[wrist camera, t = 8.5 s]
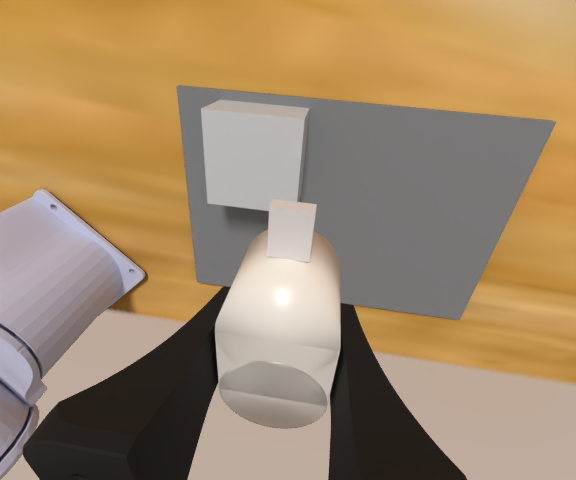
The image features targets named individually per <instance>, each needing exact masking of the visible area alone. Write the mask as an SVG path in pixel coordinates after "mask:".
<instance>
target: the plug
mask: <svg viewBox="0 0 576 480" xmlns="http://www.w3.org/2000/svg"><path fill="white" fill-rule="evenodd" d="M316 207H317V204H310V203H302V202H294V201H285V200H277V199H272V202H271V204H270V206H269V222H268V230H266V231H264V232H262V233H261V234H259V235H258V236H257V237H256V238H255V239H254V240H253V241H252V242H251V244H250V246H249V248H248V250H247V252H246V254H245V257H244V259H243V261H242V263H241V266H240V268H239V270H238V272H237V275H236V277H235V279H234V281H233V284H232V286H231V288H230V290H229V293H228V295H227V297H226V299H225V302H224V304H223V306H222V308H221V311H220V313H219V315H218V317H217V320H216V324H215V341H216V354H217V368H218V382H219V391H220V395H221V397H222V399H223V401H224V402H225V403H226V405H227V406H228V407H229V408H230V409H231V410H233V411H234V412H235V413H236V414H238V415H239V416H241V417H243V418H245V419H247V420H249V421H251V422H254V423H256V424H260V425H263V426H268V427H273V428H297V427H302V426H306V425H308V424H311V423H313V422H315V421H317V420H318V419H319V418H320V417H321V416H322V415H323V414H324V412H325V411H326V408H327V404H328V400H329V396H330V392H331V387H332V383H333V379H334V374H335V370H336V366H337V361H338V357H339V353H340V346H341V324H340V261H339V257H338V255H337V252H336V251H335V249H334V247H333V246H332V245H331V243H330V242H329V241H328V240H327V239H326V238H324V237H323V236H322V235H320V234H318V233H317V232H315V231H313V230H314V222H315V214H316Z"/></svg>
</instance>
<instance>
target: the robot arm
mask: <svg viewBox="0 0 576 480" xmlns="http://www.w3.org/2000/svg"><path fill="white" fill-rule="evenodd" d="M55 206H56V207H57V208H56V207H55ZM132 269H133V270H134V271H133V270H132ZM144 277H145V272H144V271H143V270H142V269H141V268H139V267H138V266H137V265H136V264H135V263H133V262H132V261H131V260H130V259H129V258H127V257H126V256H125V255H124V254H123V253H121V252H120V251H119V250H118V249H117V248H115V247H114V246H113V245H112V244H111V243H109V242H108V241H107V240H106V239H105V238H103V237H102V236H101V235H100V234H99V233H97V232H96V231H95V230H94V229H93V228H91V227H90V226H89V225H88V224H87V223H85V222H84V221H83V220H82V219H81V218H79V217H78V216H77V215H76V214H75V213H73V212H72V211H71V210H70V209H69V208H67V207H66V206H65V205H64V204H63V203H61V202H60V201H59V200H58V199H57V198H55V197H54V196H53V195H52V194H51V193H49V192H48V191H47V190H44V189H40V190H38V191H36V192H35V193H34V195H33V196H32V197H31V198H29V199H27V200H25V201H23V202H21V203H19V204H17V205H15V206H13V207H11V208H9V209H7V210H5V211H3V212H1V213H0V480H1V479H2V478H3V476H5V475H6V474H7V472H8V471H9V470H10V469H11V468H12V467H13V466H14V464H15V463H16V462H17V461H18V459H19V458H20V457H21V455H22V454H23V456H24V458H25V460H26V461H27V462H28V464H29V465H30V467H31V468H32V469H33V471H34V472H35V473H36V475H37V476H38V477H39V479H40V480H187V478H188V475H189V471H190V468H191V464H192V460H193V457H194V453H195V450H196V447H197V443H198V440H199V436H200V433H201V430H202V426H203V423H204V420H205V417H206V413H207V410H208V407H209V404H210V401H211V399H212V396H213V393H214V391H215V389H216V386H217V384H218V368H217V354H216V341H215V324H216V320H217V317H218V315H219V313H220V311H221V308H222V306H223V304H224V302H225V299H226V297H227V295H228V293H229V290H230V288H231V287H226V286H224V287H223V288H221V289H220V291H219V292H218V293H217V294H216V295H215V296H214V297H213V298H212V299H211V300H210V301H209V302H208V303H207V304H206V305H205V306H204V307H203V308H202V309H201V310H200V311H199V312H198V313H197V314H196V315H195V316H194V317H193V318H192V319H191V320H189V321H188V322H187V323H186V324H185V325H184V326H183V327H181V328H180V329H179V330H178V331H177V332H176V333H174V334H173V335H172V336H171V337H170V338H168V339H167V340H166V341H165V342H163V343H162V344H161V345H159V346H158V347H156V348H155V349H154V350H152V351H151V352H149V353H148V354H146V355H145V356H143V357H142V358H141V359H139V360H137V361H136V362H134V363H133V364H131V365H130V366H128V367H126V368H125V369H123V370H121V371H119V372H118V373H116V374H114V375H112V376H111V377H109V378H108V379H105V380H104V381H102V382H100V383H98V384H96V385H94V386H92V387H90V388H88V389H86V390H84V391H82V392H79V393H77V394H75V395H73V396H71V397H69V398H67V399H65V400H62V401H60V402H59V403H58V404H57V405H56V406H55V407H54V408H53V409H52V410H51V412H49V414H48V415H47V416H46V417H45V419H44V420H43V421H42V423H41V424H40V425H39V426H38V428H37V429H36V427H37V424H38V420H39V410H38V407H37V406H36V405H35V403H36V402H37V400H38V399H39V398H40V397H41V396H42V395H43V393H44V392H45V391H46V390H47V387H46V386H45V385H44V384H43V382H42V381H41V379H42V378H43V377H44V376H45V374H46V373H47V372H48V371H49V370H50V369H51V368H52V367H53V365H54V364H55V363H56V362H57V361H58V360H59V359H60V357H61V356H62V355H63V354H64V353H65V352H66V351H67V350H68V349H69V347H70V346H71V345H72V344H73V343H74V342H75V341H76V340H77V338H78V337H79V336H80V335H81V334H82V333H83V332H84V331H85V329H86V328H87V327H88V326H89V325H90V324H91V323H92V321H93V320H94V319H95V318H96V317H97V316H99V315H100V314H101V313H103V312H104V311H105V310H106V309H107V308H109V307H110V306H111V305H112V304H113V303H115V302H116V301H117V300H118V299H120V298H121V297H122V296H123V295H124V294H126V293H127V292H128V291H129V290H131V289H132V288H133V287H134V286H135V285H137V284H138V283H139V282H140V281H141V280H143V278H144ZM340 324H341V346H340V353H339V357H338V361H337V366H336V370H335V374H334V379H333V383H332V387H331V392H330V406H331V439H330V460H329V479H328V480H467V479H466V476H465V475H464V474H463V473H462V472H461V471H460V470H459V469H458V467H457V466H456V465H455V464H454V463H453V462H452V461H451V460H450V459H449V458H448V457H447V456H446V455H445V454H444V453H443V451H442V450H441V449H440V448H439V447H438V446H437V445H436V444H435V442H434V441H433V440H432V439H431V438H430V436H429V435H428V434H427V433H426V432H425V430H424V429H423V428H422V427H421V425H420V424H419V423H418V421H417V420H416V419H415V418H414V416H413V415H412V414H411V412H410V411H409V410H408V409H407V407H406V406H405V404H404V403H403V401H402V400H401V399H400V397H399V396H398V394H397V393H396V391H395V390H394V388H393V387H392V385H391V384H390V382H389V381H388V379H387V377H386V375H385V374H384V372H383V370H382V368H381V367H380V365H379V363H378V361H377V359H376V357H375V355H374V353H373V352H372V349H371V347H370V345H369V343H368V341H367V339H366V337H365V334H364V332H363V330H362V327H361V325H360V322H359V320H358V317H357V314H356V311H355V307H354V306H353V305H351V304H344V303H340ZM35 429H36V430H35Z"/></svg>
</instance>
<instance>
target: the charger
mask: <svg viewBox="0 0 576 480" xmlns="http://www.w3.org/2000/svg"><path fill="white" fill-rule="evenodd" d="M309 110H310V108H303V107H292V106H282V105H272V104H262V103H251V102H241V101H231V100H218V101H216V102H214V103H212V104H210V105H208V106H205V107H203V108H201V117H202V132H203V146H204V160H205V175H206V189H207V203H208V204H216V205H224V206H232V207H240V208H248V209H256V210H264V211H269V206H270V204H271V202H272V199H277V200H285V201H294V202H299V200H300V196H301V192H302V181H303V171H304V161H305V151H306V140H307V130H308V120H309Z"/></svg>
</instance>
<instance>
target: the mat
mask: <svg viewBox="0 0 576 480" xmlns="http://www.w3.org/2000/svg"><path fill="white" fill-rule="evenodd" d="M177 93H178V103H179V113H180V122H181V132H182V142H183V151H184V161H185V171H186V180H187V190H188V200H189V209H190V219H191V229H192V238H193V248H194V258H195V267H196V277H197V282H199V283H206V284H213V285H220V286H227V287H231V286H232V284H233V281H234V279H235V277H236V275H237V272H238V270H239V268H240V266H241V263H242V261H243V259H244V257H245V254H246V252H247V250H248V248H249V246H250V244H251V242H252V241H253V240H254V239H255V238H256V237H257V236H258V235H259V234H261V233H262V232H264V231H266V230H268V222H269V211H264V210H256V209H248V208H240V207H232V206H224V205H216V204H208V203H207V189H206V175H205V160H204V146H203V132H202V117H201V108H203V107H205V106H208V105H210V104H212V103H214V102H216V101H218V100H231V101H241V102H251V103H262V104H272V105H282V106H292V107H303V108H310V110H309V120H308V130H307V140H306V151H305V161H304V171H303V181H302V192H301V196H300V200H299V202H302V203H310V204H317V207H316V214H315V222H314V230H313V231H315V232H317V233H318V234H320V235H322V236H323V237H324V238H326V239H327V240H328V241H329V242H330V243H331V245H332V246H333V247H334V249H335V251H336V252H337V255H338V257H339V261H340V303H345V304H352V305H358V306H365V307H372V308H379V309H386V310H393V311H400V312H407V313H414V314H421V315H428V316H435V317H442V318H449V319H456V320H460V318H461V316H462V314H463V312H464V310H465V308H466V306H467V304H468V302H469V300H470V298H471V296H472V294H473V292H474V289H475V287H476V285H477V283H478V281H479V279H480V277H481V275H482V273H483V271H484V269H485V267H486V265H487V263H488V261H489V259H490V257H491V255H492V253H493V251H494V249H495V247H496V244H497V242H498V240H499V238H500V236H501V234H502V232H503V230H504V228H505V226H506V224H507V222H508V220H509V218H510V216H511V214H512V212H513V210H514V208H515V206H516V204H517V201H518V199H519V197H520V195H521V193H522V191H523V189H524V187H525V185H526V183H527V181H528V179H529V177H530V175H531V173H532V171H533V169H534V167H535V165H536V163H537V161H538V159H539V156H540V154H541V152H542V150H543V148H544V146H545V144H546V142H547V140H548V138H549V136H550V134H551V132H552V130H553V128H554V126H555V124H556V122H554V121H551V120H540V119H529V118H519V117H508V116H498V115H487V114H477V113H466V112H455V111H445V110H434V109H424V108H413V107H403V106H392V105H382V104H371V103H360V102H350V101H339V100H329V99H318V98H308V97H297V96H286V95H276V94H265V93H255V92H244V91H234V90H223V89H213V88H202V87H191V86H181V85H179V86H177Z"/></svg>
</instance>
